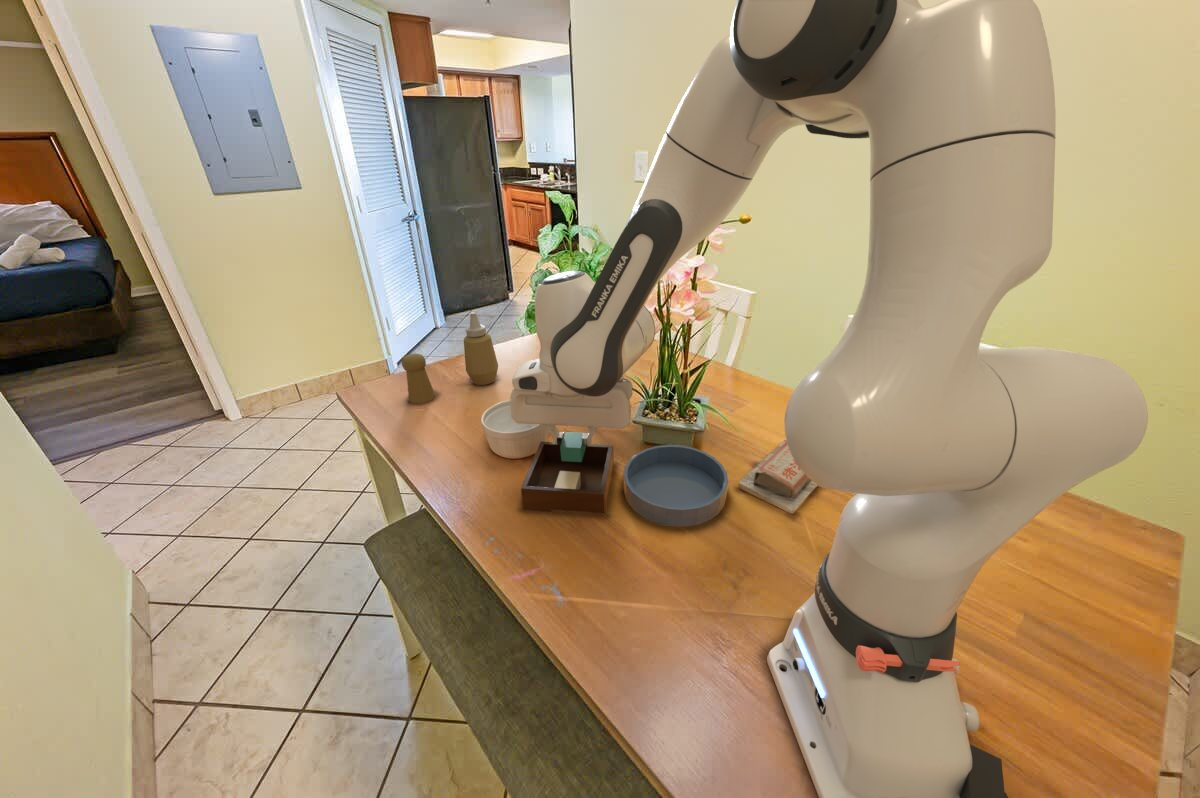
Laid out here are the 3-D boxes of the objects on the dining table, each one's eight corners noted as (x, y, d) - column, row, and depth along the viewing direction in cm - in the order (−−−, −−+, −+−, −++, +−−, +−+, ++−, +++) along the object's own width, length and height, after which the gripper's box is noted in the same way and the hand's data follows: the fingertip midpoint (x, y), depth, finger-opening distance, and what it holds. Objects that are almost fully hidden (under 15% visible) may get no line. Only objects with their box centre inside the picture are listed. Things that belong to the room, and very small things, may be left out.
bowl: (730, 532, 73) (733, 513, 71) (619, 524, 75) (619, 505, 73) (720, 465, 88) (722, 447, 86) (628, 459, 90) (628, 442, 88)
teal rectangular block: (581, 462, 82) (580, 448, 81) (561, 461, 83) (560, 447, 81) (586, 446, 86) (585, 432, 85) (566, 445, 87) (565, 431, 85)
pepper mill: (411, 406, 111) (400, 363, 105) (407, 395, 115) (396, 354, 110) (437, 399, 113) (428, 357, 108) (432, 389, 118) (423, 348, 112)
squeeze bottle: (496, 387, 118) (486, 318, 109) (464, 388, 118) (451, 319, 109) (502, 373, 125) (493, 307, 116) (472, 373, 125) (460, 307, 116)
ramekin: (474, 442, 97) (468, 413, 93) (528, 419, 104) (524, 391, 101) (508, 472, 88) (503, 441, 84) (564, 444, 95) (562, 414, 92)
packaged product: (787, 424, 90) (841, 444, 84) (783, 445, 93) (836, 466, 87) (739, 467, 79) (798, 493, 73) (736, 489, 82) (792, 517, 75)
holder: (604, 515, 77) (604, 494, 75) (523, 509, 79) (520, 488, 77) (613, 464, 89) (613, 445, 87) (542, 460, 91) (540, 441, 88)
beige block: (576, 504, 79) (575, 490, 77) (555, 502, 79) (553, 488, 78) (581, 485, 83) (580, 471, 82) (560, 484, 83) (559, 470, 82)
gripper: (634, 366, 78) (633, 436, 85) (513, 362, 81) (522, 430, 87) (630, 384, 72) (630, 457, 79) (502, 379, 75) (512, 450, 82)
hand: (573, 443), depth 83 cm, fingers closed on teal rectangular block, 3 cm apart
